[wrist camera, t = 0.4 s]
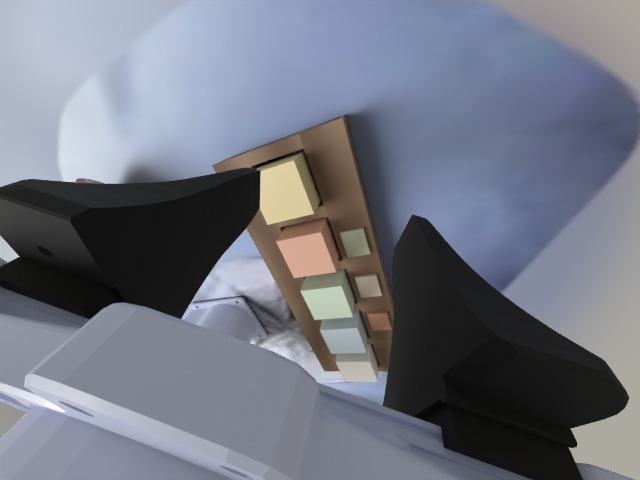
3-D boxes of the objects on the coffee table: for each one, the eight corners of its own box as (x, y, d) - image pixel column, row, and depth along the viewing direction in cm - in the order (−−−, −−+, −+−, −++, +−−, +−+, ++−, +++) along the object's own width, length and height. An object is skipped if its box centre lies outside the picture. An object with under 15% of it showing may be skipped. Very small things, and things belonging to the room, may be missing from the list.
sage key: (319, 299, 26) (314, 320, 24) (307, 271, 24) (300, 291, 22) (355, 295, 25) (353, 317, 22) (344, 266, 23) (341, 286, 20)
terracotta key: (301, 259, 23) (294, 278, 21) (286, 225, 21) (275, 241, 19) (340, 253, 22) (336, 272, 20) (326, 216, 20) (321, 232, 18)
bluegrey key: (334, 332, 28) (331, 353, 26) (324, 309, 27) (319, 330, 24) (367, 330, 27) (366, 352, 25) (358, 306, 25) (357, 328, 23)
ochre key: (279, 209, 21) (267, 224, 18) (259, 166, 19) (243, 176, 17) (321, 199, 19) (314, 213, 17) (304, 151, 18) (293, 160, 15)
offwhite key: (347, 359, 31) (344, 381, 29) (338, 340, 29) (335, 362, 27) (377, 359, 30) (377, 381, 27) (370, 339, 28) (370, 361, 26)
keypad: (327, 354, 34) (324, 373, 32) (228, 158, 21) (210, 166, 19) (406, 352, 30) (408, 373, 28) (346, 114, 17) (342, 118, 15)
